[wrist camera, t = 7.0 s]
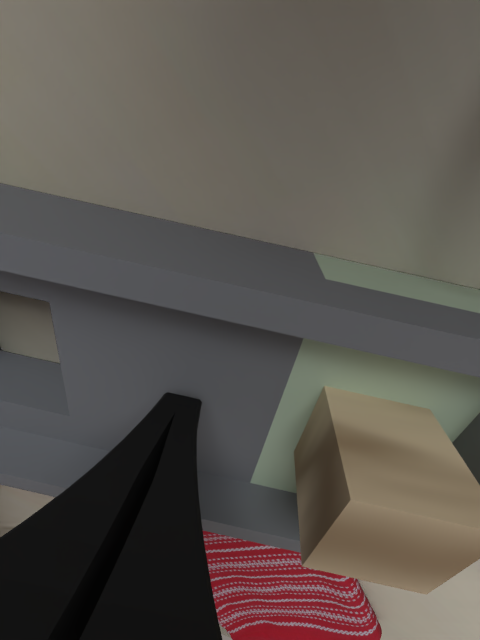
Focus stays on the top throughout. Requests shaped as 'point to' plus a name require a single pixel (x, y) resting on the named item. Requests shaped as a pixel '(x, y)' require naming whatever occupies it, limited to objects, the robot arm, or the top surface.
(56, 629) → the robot arm
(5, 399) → the tray
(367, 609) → the dish towel
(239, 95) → the top surface
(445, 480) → the maple block
